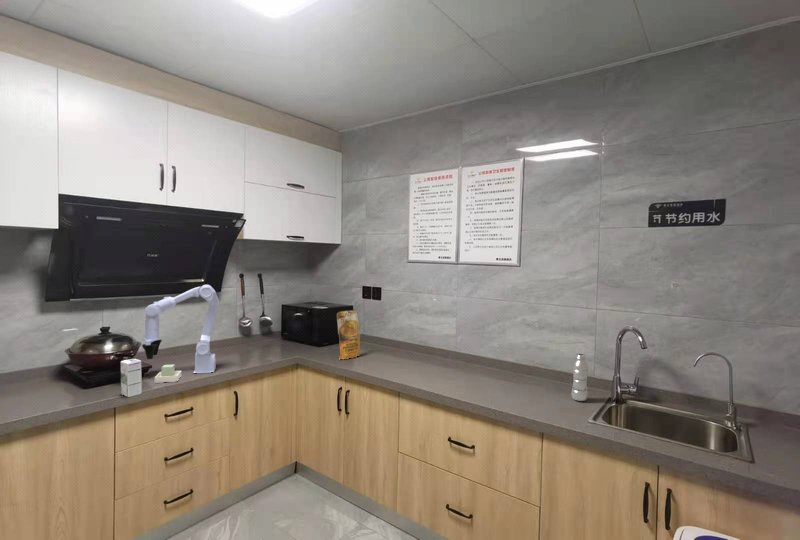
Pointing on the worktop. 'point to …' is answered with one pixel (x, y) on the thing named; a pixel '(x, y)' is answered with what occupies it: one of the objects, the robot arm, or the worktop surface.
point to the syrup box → (131, 377)
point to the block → (168, 370)
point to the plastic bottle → (580, 378)
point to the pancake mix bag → (348, 334)
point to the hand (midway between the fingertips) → (152, 356)
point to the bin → (167, 377)
